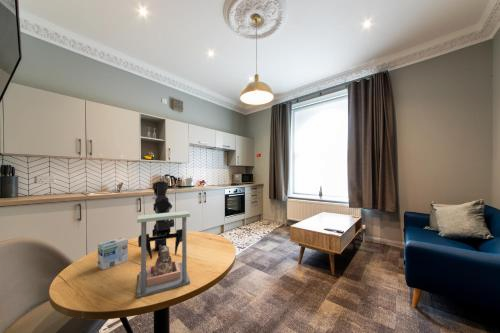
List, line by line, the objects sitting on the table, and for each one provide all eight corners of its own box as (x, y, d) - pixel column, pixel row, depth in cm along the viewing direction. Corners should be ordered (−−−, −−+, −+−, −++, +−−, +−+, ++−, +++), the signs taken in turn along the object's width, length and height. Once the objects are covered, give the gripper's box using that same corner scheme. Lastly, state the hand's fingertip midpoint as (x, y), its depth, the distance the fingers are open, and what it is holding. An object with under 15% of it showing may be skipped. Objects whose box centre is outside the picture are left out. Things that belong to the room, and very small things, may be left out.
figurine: (158, 281, 73) (159, 250, 73) (150, 275, 77) (150, 246, 78) (175, 273, 79) (175, 245, 79) (167, 268, 83) (167, 241, 83)
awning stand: (139, 274, 81) (140, 210, 82) (183, 264, 89) (183, 206, 90) (136, 298, 65) (137, 219, 66) (190, 283, 73) (190, 213, 74)
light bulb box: (102, 270, 84) (103, 246, 85) (96, 266, 88) (97, 243, 88) (128, 260, 94) (128, 239, 94) (121, 257, 97) (122, 236, 98)
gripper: (138, 215, 78) (136, 252, 68) (185, 211, 87) (189, 242, 77) (139, 229, 85) (137, 265, 75) (182, 224, 93) (186, 255, 83)
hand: (163, 256), depth 77 cm, fingers open, 9 cm apart
